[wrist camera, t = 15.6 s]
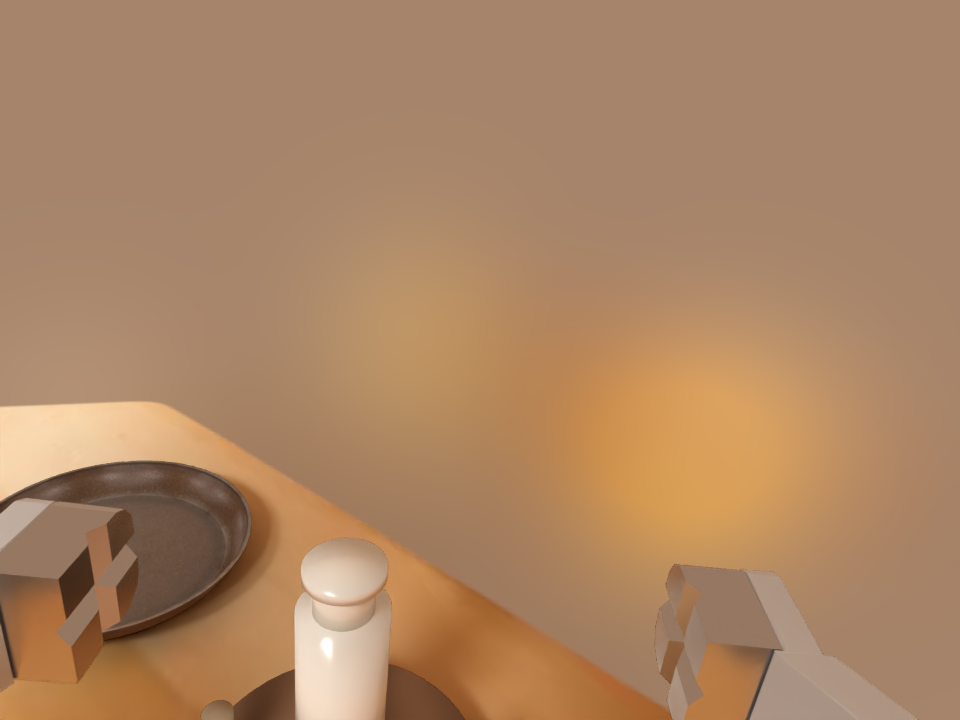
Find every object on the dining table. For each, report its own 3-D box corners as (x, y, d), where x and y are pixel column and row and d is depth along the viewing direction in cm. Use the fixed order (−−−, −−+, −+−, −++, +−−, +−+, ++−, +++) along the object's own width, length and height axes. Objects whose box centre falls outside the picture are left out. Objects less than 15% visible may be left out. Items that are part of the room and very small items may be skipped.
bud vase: (285, 813, 36) (281, 595, 30) (308, 734, 40) (308, 529, 34) (373, 821, 36) (386, 605, 30) (387, 741, 40) (400, 538, 34)
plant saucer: (305, 545, 59) (305, 513, 58) (73, 724, 42) (66, 684, 41) (142, 465, 67) (139, 435, 66) (-106, 587, 50) (-117, 551, 49)
